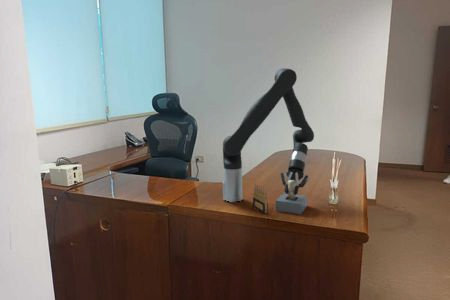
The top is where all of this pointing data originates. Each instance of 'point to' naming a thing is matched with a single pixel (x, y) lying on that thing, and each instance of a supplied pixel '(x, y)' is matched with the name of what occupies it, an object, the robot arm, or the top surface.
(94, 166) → the top surface
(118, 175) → the top surface
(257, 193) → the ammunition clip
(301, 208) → the socket block
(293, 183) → the peg
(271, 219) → the top surface
